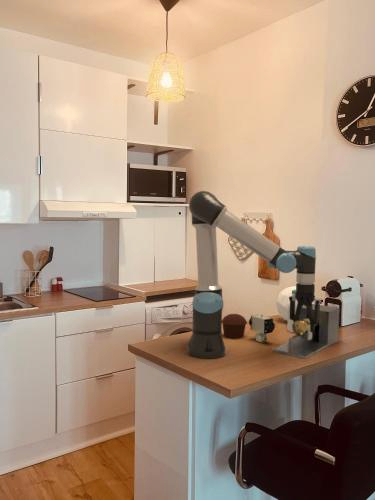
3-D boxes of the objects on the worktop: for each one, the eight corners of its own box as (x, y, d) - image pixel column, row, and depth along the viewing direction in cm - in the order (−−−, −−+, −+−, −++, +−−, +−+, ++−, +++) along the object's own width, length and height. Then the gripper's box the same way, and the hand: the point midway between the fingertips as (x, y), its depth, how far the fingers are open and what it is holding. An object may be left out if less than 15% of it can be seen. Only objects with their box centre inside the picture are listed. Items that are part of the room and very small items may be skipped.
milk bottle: (303, 333, 209) (304, 291, 207) (286, 332, 211) (287, 290, 210) (304, 330, 216) (305, 289, 215) (288, 328, 219) (289, 288, 217)
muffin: (218, 337, 200) (218, 315, 199) (224, 331, 210) (224, 311, 209) (244, 340, 196) (244, 318, 195) (249, 334, 206) (249, 313, 206)
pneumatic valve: (267, 345, 188) (267, 317, 188) (248, 339, 198) (248, 312, 197) (276, 343, 192) (276, 316, 191) (257, 337, 201) (257, 311, 200)
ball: (298, 337, 228) (297, 311, 216) (269, 317, 242) (267, 291, 229) (322, 316, 235) (322, 290, 223) (293, 298, 249) (292, 272, 236)
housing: (273, 351, 180) (274, 315, 179) (308, 335, 206) (309, 303, 205) (305, 358, 171) (306, 320, 170) (338, 340, 198) (339, 307, 196)
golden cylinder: (292, 333, 183) (292, 319, 183) (307, 327, 195) (307, 314, 195) (305, 336, 180) (305, 322, 179) (320, 329, 191) (320, 316, 191)
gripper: (329, 284, 181) (327, 340, 183) (289, 280, 192) (288, 332, 194) (322, 286, 175) (320, 344, 177) (281, 281, 187) (280, 336, 188)
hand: (303, 338), depth 186 cm, fingers closed on golden cylinder, 5 cm apart
